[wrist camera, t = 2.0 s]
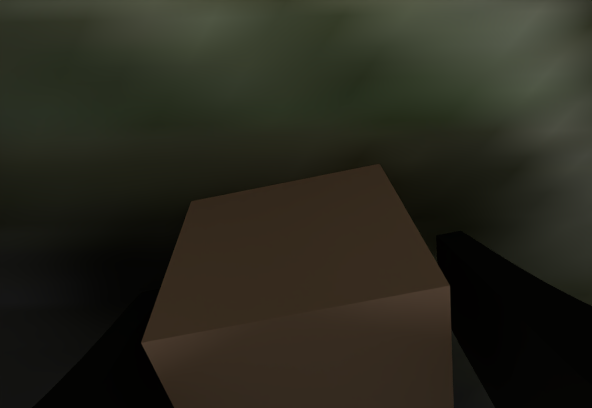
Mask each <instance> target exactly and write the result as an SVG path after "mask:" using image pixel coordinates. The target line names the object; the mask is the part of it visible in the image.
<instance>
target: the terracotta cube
mask: <svg viewBox="0 0 592 408" xmlns="http://www.w3.org/2000/svg"><path fill="white" fill-rule="evenodd" d="M141 344H142V346H143V348H144V350H145V352H146V354H147V356H148V357H149V359H150V361H151V363H152V365H153V367H154V369H155V371H156V373H157V375H158V377H159V379H160V381H161V383H162V385H163V387H164V389H165V391H166V393H167V395H168V397H169V399H170V401H171V402H172V404H173V406H174V408H454V402H453V370H452V337H451V304H450V285H449V283H448V281H447V280H446V278H445V276H444V274H443V273H442V271H441V269H440V268H439V266H438V264H437V262H436V261H435V259H434V257H433V255H432V254H431V252H430V250H429V248H428V247H427V245H426V243H425V241H424V240H423V238H422V236H421V235H420V233H419V231H418V229H417V228H416V226H415V224H414V222H413V221H412V219H411V217H410V215H409V214H408V212H407V210H406V208H405V207H404V205H403V203H402V202H401V200H400V198H399V196H398V195H397V193H396V191H395V189H394V188H393V186H392V184H391V182H390V181H389V179H388V177H387V175H386V174H385V172H384V170H383V168H382V167H381V165H380V164H375V165H370V166H365V167H360V168H355V169H350V170H345V171H340V172H335V173H330V174H325V175H320V176H315V177H310V178H305V179H300V180H295V181H290V182H285V183H280V184H275V185H270V186H265V187H260V188H255V189H250V190H245V191H240V192H235V193H230V194H225V195H220V196H215V197H210V198H205V199H200V200H195V201H191V203H190V206H189V209H188V212H187V214H186V217H185V220H184V223H183V226H182V229H181V231H180V234H179V237H178V240H177V243H176V246H175V248H174V251H173V254H172V257H171V260H170V262H169V265H168V268H167V271H166V274H165V277H164V279H163V282H162V285H161V288H160V291H159V294H158V296H157V299H156V302H155V305H154V308H153V310H152V313H151V316H150V319H149V322H148V325H147V327H146V330H145V333H144V336H143V339H142V342H141Z"/></svg>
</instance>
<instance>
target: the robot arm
mask: <svg viewBox="0 0 592 408" xmlns="http://www.w3.org/2000/svg"><path fill="white" fill-rule="evenodd" d="M436 241H437V261H438V266H439V268H440V269H441V271H442V273H443V274H444V276H445V278H446V280H447V281H448V283H449V285H450V304H451V328H452V330H453V333H454V335H455V337H456V338H457V340H458V342H459V344H460V346H461V348H462V349H463V351H464V353H465V355H466V357H467V358H468V360H469V362H470V364H471V365H472V367H473V369H474V371H475V373H476V374H477V376H478V378H479V380H480V381H481V383H482V385H483V387H484V388H485V390H486V392H487V394H488V396H489V397H490V399H491V401H492V403H493V404H494V406H495V408H592V306H590V305H588V304H586V303H584V302H582V301H580V300H578V299H576V298H574V297H572V296H570V295H568V294H566V293H564V292H563V291H561V290H559V289H557V288H555V287H553V286H551V285H549V284H547V283H546V282H544V281H542V280H540V279H538V278H537V277H535V276H533V275H531V274H530V273H528V272H526V271H524V270H523V269H521V268H519V267H518V266H516V265H514V264H513V263H511V262H510V261H508V260H506V259H505V258H503V257H501V256H500V255H498V254H497V253H495V252H493V251H492V250H490V249H489V248H487V247H486V246H484V245H482V244H481V243H479V242H478V241H476V240H475V239H473V238H472V237H470V236H468V235H467V234H465V233H463V232H462V231H457V232H452V233H447V234H442V235H437V236H436ZM159 291H160V289H157V290H152V291H147V292H142V293H141V294H140V295H139V296H138V297H137V298H136V299H135V300H134V301H133V302H132V303H131V304H130V306H129V307H128V308H127V309H126V310H125V311H124V312H123V313H122V314H121V316H120V317H119V318H118V319H117V320H116V321H115V322H114V323H113V325H112V326H111V327H110V328H109V329H108V330H107V331H106V332H105V333H104V335H103V336H102V337H101V338H100V339H99V340H98V341H97V342H96V343H95V345H94V346H93V347H92V348H91V349H90V350H89V351H88V352H87V353H86V354H85V355H84V357H83V358H82V359H81V360H80V361H79V362H78V363H77V364H76V365H75V366H74V367H73V368H72V369H71V370H70V371H69V372H68V373H67V374H66V375H65V376H64V377H63V378H62V379H61V380H60V381H59V382H58V383H57V384H56V385H55V386H54V387H53V388H52V389H51V390H50V391H49V392H48V393H47V394H46V395H45V396H44V397H43V398H42V399H41V400H40V401H39V402H38V403H37V404H36V405H35V406H34V407H32V408H174V406H173V404H172V402H171V401H170V399H169V397H168V395H167V393H166V391H165V389H164V387H163V385H162V383H161V381H160V379H159V377H158V375H157V373H156V371H155V369H154V367H153V365H152V363H151V361H150V359H149V357H148V356H147V354H146V352H145V350H144V348H143V346H142V344H141V342H142V339H143V336H144V333H145V330H146V327H147V325H148V322H149V319H150V316H151V313H152V310H153V308H154V305H155V302H156V299H157V296H158V294H159Z"/></svg>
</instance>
